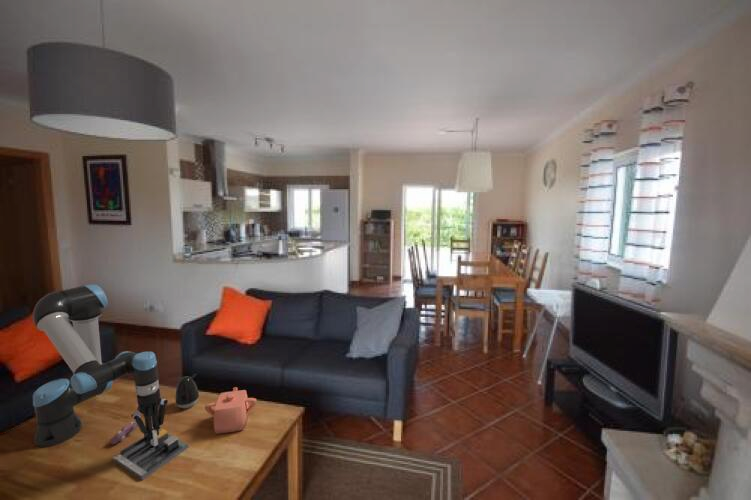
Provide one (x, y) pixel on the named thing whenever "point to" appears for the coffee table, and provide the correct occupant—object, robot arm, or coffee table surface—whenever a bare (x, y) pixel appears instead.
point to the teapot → (231, 411)
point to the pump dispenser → (186, 392)
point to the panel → (149, 455)
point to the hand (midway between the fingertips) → (154, 444)
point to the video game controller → (124, 432)
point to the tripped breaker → (162, 437)
